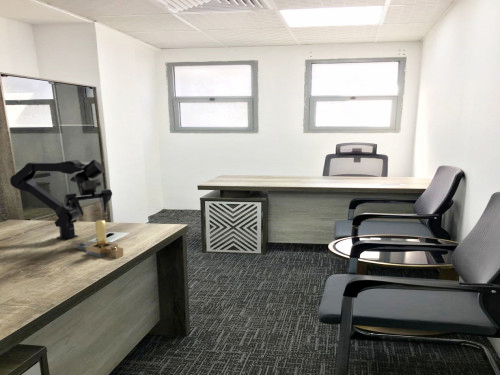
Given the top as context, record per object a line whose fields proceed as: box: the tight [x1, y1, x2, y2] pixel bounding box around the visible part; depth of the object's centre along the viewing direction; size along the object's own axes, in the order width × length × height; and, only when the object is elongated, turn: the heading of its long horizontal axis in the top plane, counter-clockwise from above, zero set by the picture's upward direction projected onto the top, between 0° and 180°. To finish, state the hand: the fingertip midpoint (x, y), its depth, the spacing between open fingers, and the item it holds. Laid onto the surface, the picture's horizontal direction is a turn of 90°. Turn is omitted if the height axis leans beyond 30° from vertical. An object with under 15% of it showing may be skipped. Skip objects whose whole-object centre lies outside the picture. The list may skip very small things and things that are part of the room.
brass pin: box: [95, 219, 108, 248], centre depth 147 cm, size 4×4×13 cm
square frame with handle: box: [75, 241, 124, 259], centre depth 149 cm, size 24×8×3 cm, turn 60°
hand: (94, 213), depth 156 cm, fingers open, 9 cm apart
